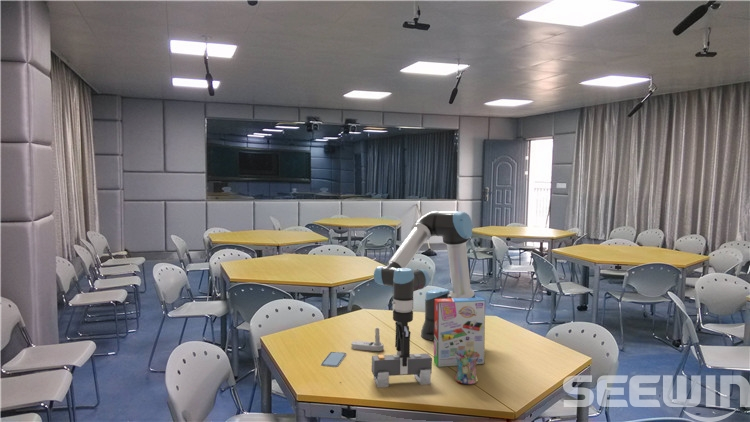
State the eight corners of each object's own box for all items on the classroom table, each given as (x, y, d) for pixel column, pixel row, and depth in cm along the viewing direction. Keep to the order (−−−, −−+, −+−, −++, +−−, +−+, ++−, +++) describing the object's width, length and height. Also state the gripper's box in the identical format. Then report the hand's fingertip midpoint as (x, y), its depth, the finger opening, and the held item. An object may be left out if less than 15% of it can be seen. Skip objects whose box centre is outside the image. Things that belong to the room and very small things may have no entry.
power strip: (427, 368, 184) (428, 351, 183) (431, 373, 179) (432, 356, 179) (371, 371, 180) (372, 354, 179) (374, 376, 175) (374, 358, 174)
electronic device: (353, 325, 220) (384, 327, 215) (354, 345, 220) (385, 348, 216) (349, 328, 215) (381, 330, 210) (349, 349, 215) (381, 352, 210)
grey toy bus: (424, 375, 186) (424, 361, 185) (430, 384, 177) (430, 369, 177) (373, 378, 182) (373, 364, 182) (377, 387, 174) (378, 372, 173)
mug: (452, 376, 185) (453, 349, 185) (476, 376, 185) (477, 349, 184) (456, 389, 173) (457, 360, 173) (482, 389, 173) (482, 361, 172)
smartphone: (320, 364, 194) (330, 351, 209) (320, 367, 194) (330, 353, 209) (337, 366, 193) (346, 352, 207) (337, 368, 193) (346, 354, 207)
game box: (479, 360, 203) (481, 296, 202) (485, 364, 198) (486, 300, 196) (432, 362, 199) (434, 298, 198) (436, 367, 194) (438, 301, 193)
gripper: (388, 304, 186) (387, 362, 187) (398, 316, 169) (397, 381, 170) (406, 303, 188) (405, 361, 189) (419, 316, 170) (418, 380, 171)
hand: (401, 370), depth 179 cm, fingers closed on power strip, 5 cm apart
